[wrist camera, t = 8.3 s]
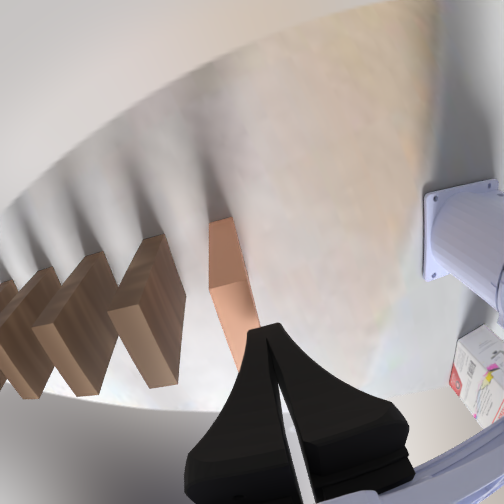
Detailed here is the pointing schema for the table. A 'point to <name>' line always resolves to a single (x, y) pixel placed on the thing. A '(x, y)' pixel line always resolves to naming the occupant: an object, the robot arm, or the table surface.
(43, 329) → the domino
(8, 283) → the domino
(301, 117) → the table surface
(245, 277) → the head domino
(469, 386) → the ink cartridge box
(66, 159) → the table surface
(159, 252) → the domino
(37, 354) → the domino
